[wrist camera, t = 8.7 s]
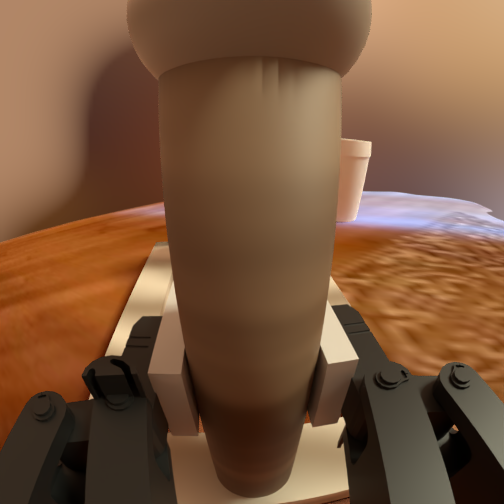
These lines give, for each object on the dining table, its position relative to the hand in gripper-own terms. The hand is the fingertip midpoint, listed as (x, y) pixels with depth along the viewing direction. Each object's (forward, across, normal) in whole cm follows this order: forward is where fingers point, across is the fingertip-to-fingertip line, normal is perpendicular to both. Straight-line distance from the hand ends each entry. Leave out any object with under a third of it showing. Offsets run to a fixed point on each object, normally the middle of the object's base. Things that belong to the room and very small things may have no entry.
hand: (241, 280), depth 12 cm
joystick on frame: (+7, 0, -8) cm, 10 cm away
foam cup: (+34, +18, -8) cm, 39 cm away
